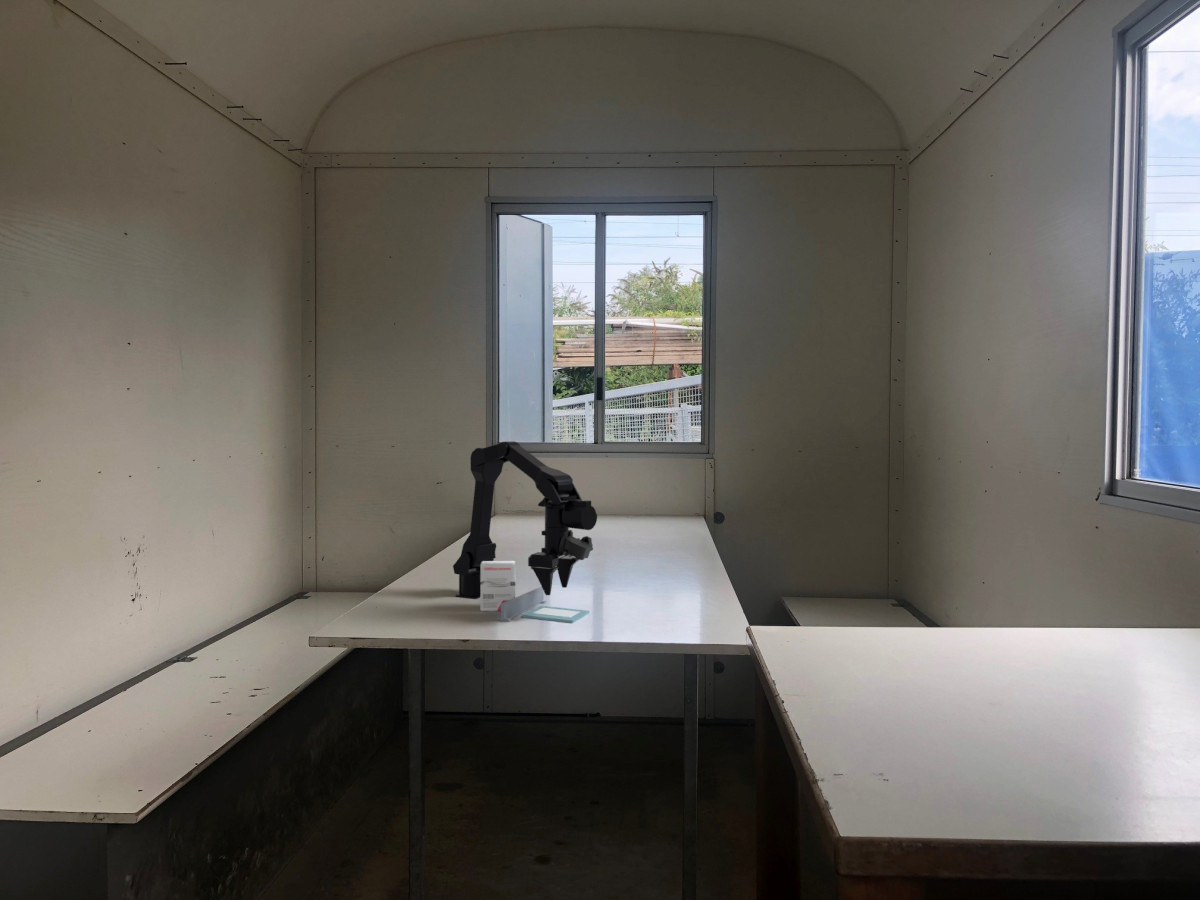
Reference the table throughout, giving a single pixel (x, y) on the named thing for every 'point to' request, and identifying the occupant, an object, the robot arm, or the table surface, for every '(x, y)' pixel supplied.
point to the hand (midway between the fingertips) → (556, 591)
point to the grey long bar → (521, 604)
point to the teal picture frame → (556, 614)
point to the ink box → (496, 584)
